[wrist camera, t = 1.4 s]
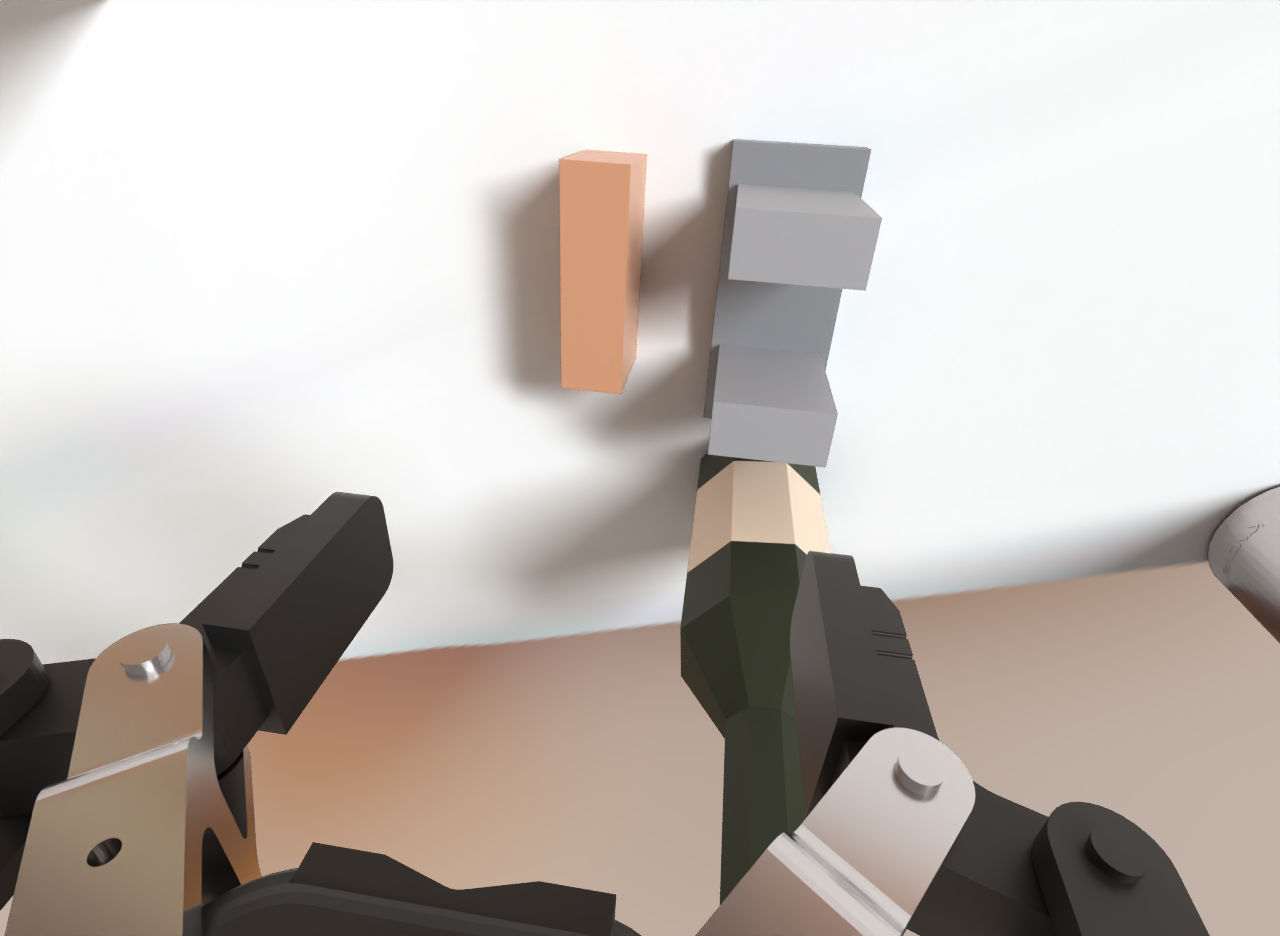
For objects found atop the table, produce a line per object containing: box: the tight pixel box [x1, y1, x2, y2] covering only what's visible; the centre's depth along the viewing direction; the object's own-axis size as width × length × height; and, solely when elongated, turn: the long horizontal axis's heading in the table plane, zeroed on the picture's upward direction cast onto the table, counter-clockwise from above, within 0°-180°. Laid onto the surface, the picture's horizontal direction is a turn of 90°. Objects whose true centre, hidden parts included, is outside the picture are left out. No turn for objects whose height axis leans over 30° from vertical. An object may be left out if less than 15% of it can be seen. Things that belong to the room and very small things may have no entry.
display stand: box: [704, 139, 882, 467], centre depth 34 cm, size 7×16×10 cm, turn 177°
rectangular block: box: [559, 150, 647, 394], centre depth 37 cm, size 4×12×6 cm, turn 177°
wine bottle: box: [681, 453, 831, 905], centre depth 32 cm, size 8×8×30 cm
